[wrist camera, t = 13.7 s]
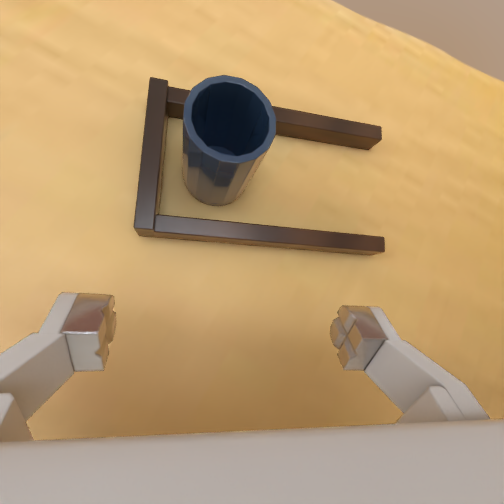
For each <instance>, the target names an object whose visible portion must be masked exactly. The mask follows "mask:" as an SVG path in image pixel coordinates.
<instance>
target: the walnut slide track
mask: <svg viewBox="0 0 504 504" xmlns="http://www.w3.org/2000/svg"><path fill="white" fill-rule="evenodd" d="M190 92H191V91H190V90H185V89H179V88H174V87H169V86H168V81H167V80H163V79H158V78H153V77H150V81H149V90H148V99H147V108H146V118H145V127H144V136H143V145H142V154H141V164H140V173H139V182H138V191H137V201H136V210H135V219H134V229H135V230H136V232H137V233H138V235H139V236H149V237H161V238H173V239H184V240H196V241H208V242H220V243H232V244H244V245H255V246H267V247H279V248H291V249H303V250H315V251H326V252H338V253H350V254H362V255H374V254H378V253H383V252H385V242H384V237H379V236H369V235H359V234H349V233H339V232H329V231H319V230H309V229H299V228H289V227H279V226H269V225H259V224H249V223H239V222H229V221H219V220H209V219H199V218H189V217H179V216H169V215H159V206H160V196H161V185H162V175H163V164H164V154H165V143H166V133H167V122H168V116H171V117H177V118H183V113H184V103H185V100H186V99H187V97H188V95H189V93H190ZM272 108H273V111H274V113H275V116H276V134H278V135H283V136H289V137H295V138H301V139H307V140H313V141H319V142H325V143H331V144H337V145H343V146H349V147H355V148H361V149H367V150H369V149H371V148H372V147H373V146H374V145H376V144H377V143H378V142H379V141H381V140H382V133H381V126H375V125H370V124H365V123H359V122H354V121H349V120H343V119H338V118H333V117H328V116H322V115H317V114H312V113H306V112H301V111H296V110H291V109H285V108H280V107H275V106H272Z"/></svg>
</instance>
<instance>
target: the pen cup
mask: <svg viewBox="0 0 504 504" xmlns="http://www.w3.org/2000/svg"><path fill="white" fill-rule="evenodd" d="M275 134H276V116H275V113H274V111H273V108H272V106H271V103H270V102H269V100H268V99H267V97H266V96H265V95H264V94H263V93H262V92H261V90H260V89H259V88H258V87H256V86H254V85H253V84H251V83H249V82H247V81H246V80H244V79H242V78H237V77H232V76H227V75H222V76H216V77H210V78H207V79H205V80H203V81H202V82H200V83H199V84H197V85H196V86H194V87H193V88H192V90H191V92H190V93H189V95H188V97H187V99H186V100H185V103H184V113H183V164H182V174H183V180H184V183H185V186H186V188H187V189H188V191H189V192H190V193H191V195H192V196H193V197H195V198H196V199H197V200H199V201H200V202H202V203H205V204H208V205H212V206H222V205H227V204H229V203H232V202H233V201H235V200H236V199H237V198H239V197H240V195H241V194H242V193H243V192H244V190H245V188H246V187H247V185H248V183H249V182H250V180H251V178H252V177H253V175H254V173H255V171H256V170H257V168H258V166H259V165H260V163H261V161H262V160H263V158H264V156H265V154H266V153H267V151H268V149H269V148H270V145H271V143H272V141H273V139H274V137H275Z"/></svg>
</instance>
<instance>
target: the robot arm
mask: <svg viewBox="0 0 504 504" xmlns="http://www.w3.org/2000/svg"><path fill="white" fill-rule="evenodd" d="M114 305H115V300H114V296H113V295H105V294H90V293H71V292H62V293H61V294H60V295H58V297H57V299H56V301H55V303H54V304H53V306H52V308H51V310H50V312H49V314H48V316H47V317H46V319H45V321H44V323H43V325H42V327H41V328H40V330H39V332H38V333H32V334H30V335H28V336H27V337H25V338H24V339H22V340H21V341H19V342H18V343H16V344H15V345H13V346H12V347H10V348H9V349H7V350H6V351H4V352H3V353H1V354H0V504H504V419H490V418H489V416H488V415H487V414H486V412H485V411H484V409H483V408H482V407H481V405H480V404H479V403H478V401H477V400H476V398H475V397H474V396H473V394H472V393H471V392H470V390H469V389H468V387H467V386H466V385H465V384H464V383H463V382H461V381H460V380H459V379H457V378H456V377H454V376H453V375H452V374H450V373H449V372H448V371H446V370H445V369H443V368H442V367H441V366H439V365H438V364H437V363H435V362H434V361H432V360H431V359H430V358H428V357H427V356H426V355H424V354H423V353H422V352H420V351H419V350H417V349H416V348H415V347H413V346H412V345H411V344H409V343H408V342H406V341H404V340H401V339H400V337H399V335H398V334H397V332H396V331H395V329H394V328H393V326H392V324H391V323H390V321H389V320H388V318H387V317H386V315H385V313H384V312H383V310H382V309H381V308H380V307H371V306H366V307H365V306H341V307H340V308H339V310H338V312H337V313H338V316H339V317H337V318H336V319H334V320H333V322H332V324H331V326H330V336H331V340H332V343H333V345H334V346H335V347H337V348H338V349H339V351H338V354H337V355H338V358H339V360H340V363H341V365H342V367H343V370H361V371H364V372H365V373H366V374H367V375H368V377H369V378H370V379H371V380H372V381H373V382H374V383H375V384H376V385H377V386H378V387H379V388H380V389H381V390H382V391H383V392H384V393H385V394H386V395H387V397H388V398H389V399H390V400H391V401H392V402H393V403H394V404H395V405H396V406H397V407H398V408H399V409H400V410H401V411H402V412H403V413H404V414H403V415H402V416H401V417H400V418H399V419H398V420H397V422H396V424H378V425H357V426H335V427H313V428H291V429H270V430H248V431H227V432H206V433H185V434H163V435H142V436H120V437H99V438H77V439H56V440H34V439H33V437H32V434H31V432H30V430H29V428H28V426H27V424H26V421H27V420H28V419H29V418H30V417H31V416H32V415H33V414H34V413H35V412H36V411H37V410H38V409H39V408H40V407H41V406H42V405H43V404H44V403H45V402H46V401H47V400H48V399H49V398H50V397H51V396H52V395H53V394H54V393H55V392H56V391H57V390H58V389H59V388H60V387H61V386H62V385H63V384H64V383H65V382H66V381H67V380H68V379H69V378H70V377H71V376H72V375H73V374H74V372H79V371H104V368H105V365H106V362H107V358H108V355H109V346H108V344H109V343H111V342H112V341H113V338H114V334H115V328H116V312H114V311H113V308H114Z"/></svg>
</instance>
